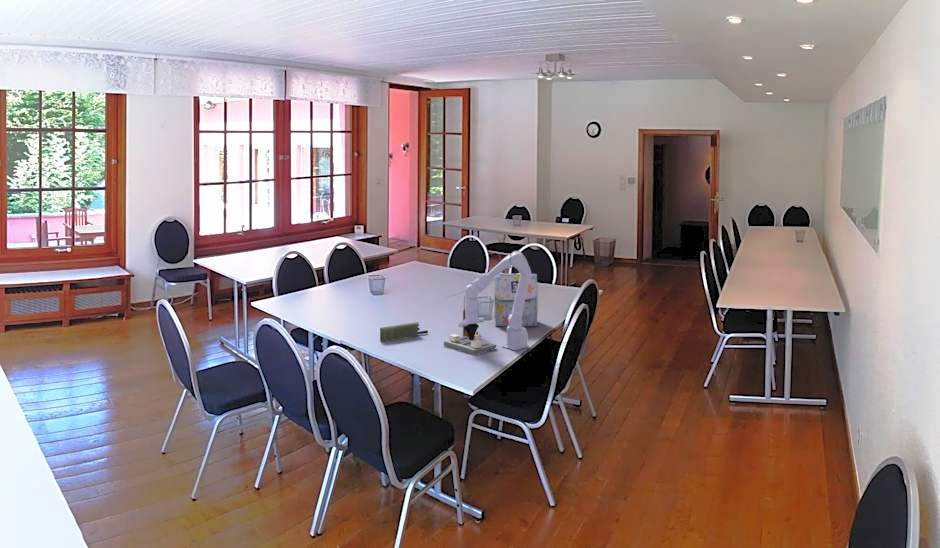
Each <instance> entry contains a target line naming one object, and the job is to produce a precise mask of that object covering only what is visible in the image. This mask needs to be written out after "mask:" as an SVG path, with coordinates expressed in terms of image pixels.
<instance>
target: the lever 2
mask: <svg viewBox="0 0 940 548" xmlns="http://www.w3.org/2000/svg"><path fill="white" fill-rule="evenodd" d="M471 347H473V348H480V347H481V342H480V341H477V340H474V341H471Z"/></svg>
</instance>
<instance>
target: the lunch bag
mask: <svg viewBox="0 0 940 548" xmlns="http://www.w3.org/2000/svg"><path fill="white" fill-rule="evenodd" d="M519 279H520V273H519V272H518V273H503V272H500V273H499V274H498V275H496V276H495V277H494V278H493V282H494V295H493V296H494V297H493V304H494V305H493V306H494V319H495V320H494V321H495V327H508V326H509V324H508V316H509V314H510V313H511V311H512V308H513V305H514V300H515V296H516V292H517V287H518V283H519ZM538 288H539V287H538V274H536V273H531V277H530V281H529V286H528V290H527V294H526V299H525V303H524V307H523V313H522V327H538V311H539V310H538V309H539V308H538V307H539V306H538V301H539V299H538V298H539V289H538Z"/></svg>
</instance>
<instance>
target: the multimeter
mask: <svg viewBox="0 0 940 548" xmlns="http://www.w3.org/2000/svg"><path fill="white" fill-rule="evenodd" d="M465 301H466V295H465V296H464V298H463V302H465ZM464 319H465V305H463V310H462V321H464ZM475 335H479V336H480V337H482V338H484V337H483V335H480V334H478V331H476V333H475ZM464 336H468V333H467V330H466V329H465V327H462V337H464Z"/></svg>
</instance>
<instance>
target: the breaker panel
mask: <svg viewBox="0 0 940 548" xmlns="http://www.w3.org/2000/svg"><path fill="white" fill-rule="evenodd" d="M480 342H481V347H480V348H473V347H471V341H470V340H469V337H468V336H461V337H460V341H457V342H453V341H450V339H449V340H445V341H443V346H444V347H446V346H448V347H447V348H449V347H451V348H450V349H453V348H454V350H456V349H457V350H456V351H459V350H461V351H460V352H462V351H464V352H463V353H466V352H467V353H466V354H469V353H471V354H470V355H472V354H477V355H479V354H478V353H480V354H482V353H481V352H484V353H486V352H485V351H487V352H490V351H489V350H491V351H493V350H492V349H494V350H496V349H497V344H496V343H495V344H494V343H491V342H488V341H485V340H481V339H480ZM495 348H496V349H495Z"/></svg>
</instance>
